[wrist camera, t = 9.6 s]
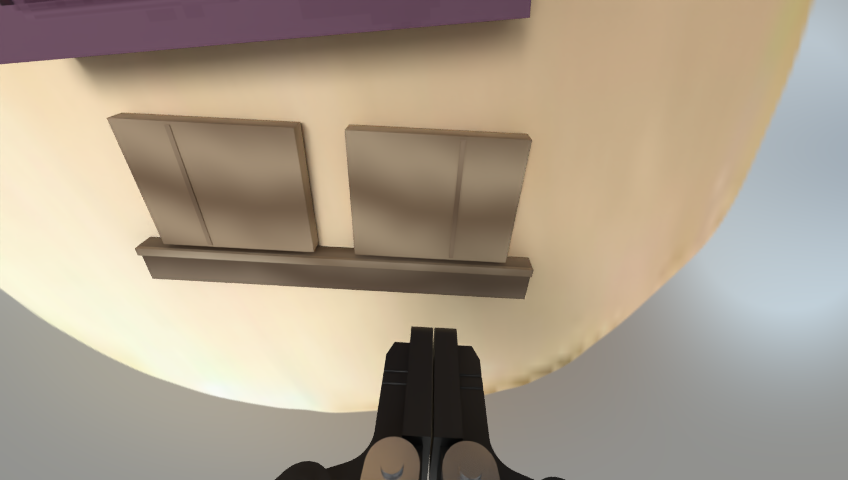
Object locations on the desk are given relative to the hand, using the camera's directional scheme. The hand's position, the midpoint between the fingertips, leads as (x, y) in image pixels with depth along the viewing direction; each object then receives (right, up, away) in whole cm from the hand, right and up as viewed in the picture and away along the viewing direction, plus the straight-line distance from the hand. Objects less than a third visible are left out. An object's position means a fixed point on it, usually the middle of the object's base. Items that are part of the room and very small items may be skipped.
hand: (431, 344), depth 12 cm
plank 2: (0, +7, +12) cm, 14 cm away
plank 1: (-14, +7, +12) cm, 20 cm away
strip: (-7, +2, +16) cm, 17 cm away
